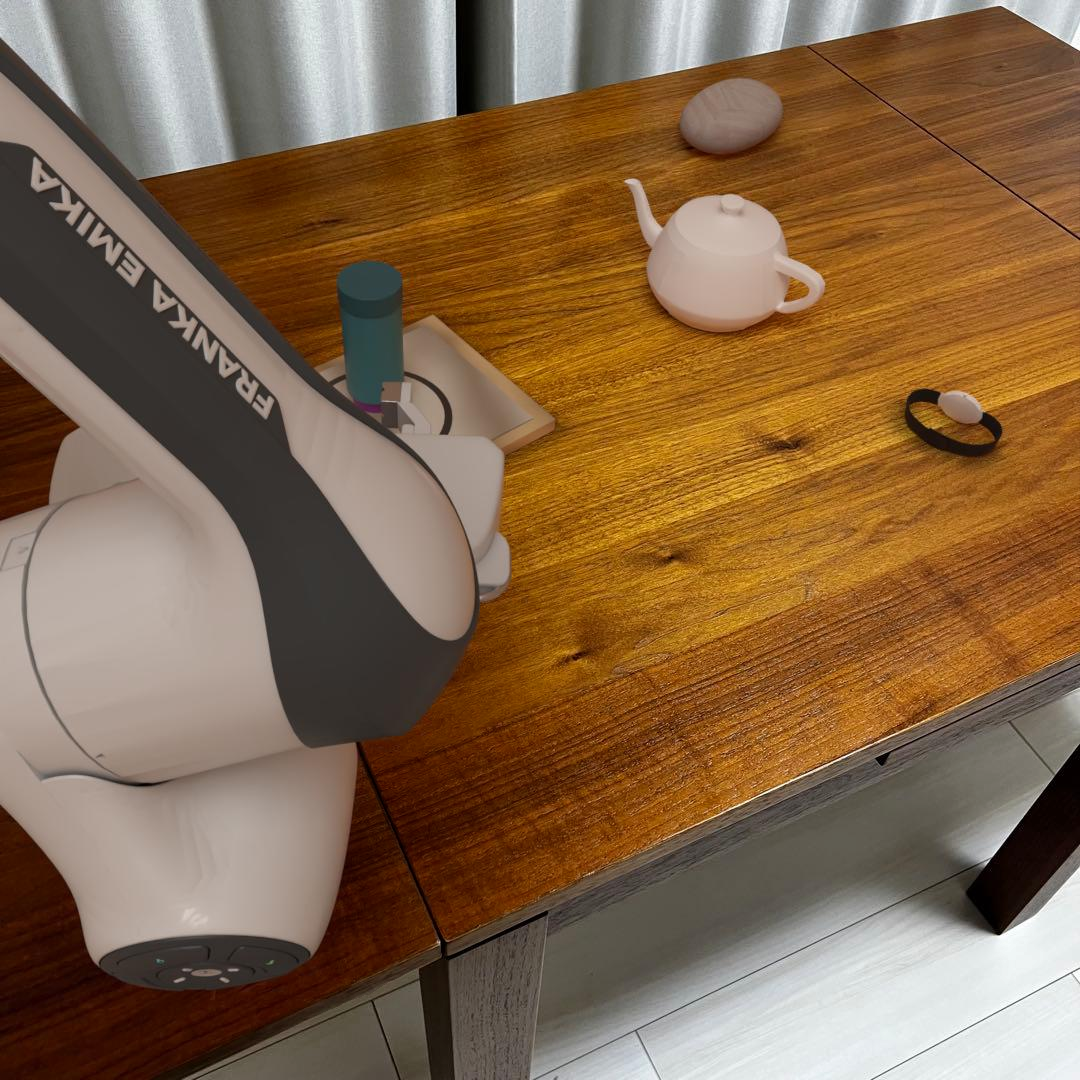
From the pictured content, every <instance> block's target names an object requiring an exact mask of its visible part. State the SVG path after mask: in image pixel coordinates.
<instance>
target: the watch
mask: <svg viewBox="0 0 1080 1080" xmlns="http://www.w3.org/2000/svg"><path fill="white" fill-rule="evenodd" d="M916 403H927V404H928V403H929V404H933V405H936V406H938V407H940V409H941V410H942V411H943V413H944V414H945V415H946V416H947V417H949V418H950V419H952V420H953V421H956V422H958V423H961V424H965V425H966V424H967V425H969V424H978V425H980V426H982V427H984V428H985V429H986V430H988V431H989V432H990V434H991V435H992V436H993V438H994V440H993V441H990V442H988V443H982V444H981V443H980V444H978V443H976V444H975V443H973V444H971V443H966V442H962V441H959V440H958V439H957V440H956V439H955V438H951V437H949V436H946V435H944V434H942V433H940V432H938V431H937V430H936V429H933V428H932V427H927V426H926V425H924V424H923V423H922V422H921V421H920V420H918V419H917V418H916V416H915V415H914V414H913V412H912V411H911V409H910V406H911V405H913V404H916ZM904 419H905V423H906V425H907V427H908V428H909V430H911V431H912V432H913V433H914V434H915V435H916V436H918V438H920V439H921V440H923V441H924V442H926V443H927V444H928V445H930V446H932V447H933V448H935V449H938V450H940V451H947V452H950V453H952V454H956V455H959V456H964V457H981V456H985V455H987V454H989V453H991V452H993V451H994V449H996V446H997V444H998V443H999V441H1000V439H1001V438H1002V435H1003V427H1002V424H1001V422H1000V421H999V420H998V419H997V418H996V417H995V416H993V415H992V414H990V413H988V412H986V410H983V407H982V404H980V402H979V400H977V399H976V398H975V397H974V396H973V395H971V394H969V393H967V392H964V391H962V390H961V391H960V390H951V391H947V392H946V393H944V392H942V391H939V390H935V389H931V388H918V389H915V390H913V391H911V392H910V393H909V395H908V396H907V398H906V404H905V410H904Z"/></svg>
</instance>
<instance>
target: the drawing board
mask: <svg viewBox="0 0 1080 1080" xmlns="http://www.w3.org/2000/svg"><path fill="white" fill-rule="evenodd" d="M403 355H404V382H412V403H413V404H414V405H415V406H416V407H417V408H418V410H419V411H420V412H421V413H422V414H423V416H424V417H425V418H426V419H427V420H428V422H429V423H430V424H431V434H435V435H465V436H484V437H487V438H489V439H490V440H492V441H493V442H494V443H495V444H496V445H497V446H498V447H499V448H500V449H501V450H502V451H503V453H504V455H505V457H507V456H509V455H511V454H512V453H514V452H517V450H520V449H522V448H523V447H525V446H527V445H529V444H531V443H533V442H535V441H537V440H539V439H540V438H542V437H544V436H546V435H548V434H549V433H552V432H554V431H555V429H556V420H557V419H556V418H555V417H554V416H553V415H552V414H551V413H549V412H548V411H547V410H546V409H545V408H543V407H542V406H541V405H540V404H539V403H537V402H536V401H535V400H534V399H533V398H532V397H530V396H529V395H528V394H527V393H526V392H525V391H523V390H522V389H521V388H520V387H519V386H518V385H517V384H515V383H514V382H513V381H512V380H511V379H509V377H507V376H506V375H505V374H504V373H502V372H501V371H500V370H499V369H498V368H497V367H495V366H494V365H493V364H492V363H491V362H490V361H488V360H487V359H486V358H485V357H484V356H483V355H481V354H480V353H479V352H477V350H476V349H475V348H473V347H472V346H471V345H469V344H468V343H467V342H466V341H465V340H463V338H462V337H460V336H459V335H458V334H457V333H456V332H454V331H453V330H452V329H451V328H450V327H448V326H447V325H446V324H445V323H444V322H442V320H441V319H439V318H438V317H437V316H436V315H434V314H431V315H429V316H427V317H424V318H422V319H419V320H417V321H415V322H413V323H410V324H409V325H406V326H404V327H403ZM313 368H314V369H315V370H316V371H317V372H318V373H319V374H320V375H321V376H322V377H323V378H325V379H326V380H327V381H328V382H329V383H330V384H331V385H332V386H334V387H335V388H336V389H337V390H338V391H339V392H341V393H342V394H343V395H344V396H346V397H347V398H348V399H349V400H351V401H352V402H353V403H354V401H353V397H352V396H351V395H350V394H349V392H348V390H347V385H346V373H345V361H344V353H343V354H341V355H339V356H337V357H334V358H332V359H330V360H328V361H325V362H323V363H321V364H319V365H316V366H313ZM354 404H355V403H354ZM365 412H366V411H365ZM366 413H368V414H369V415H370V416H372V417H373V418H375V419H376V420H377V421H379V422H380V423H381V424H382V420H381V417H382V412H381V413H371V412H366ZM388 429H389V430H390V431H392V432H393V433H400V431H399V430H398V428H388Z"/></svg>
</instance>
